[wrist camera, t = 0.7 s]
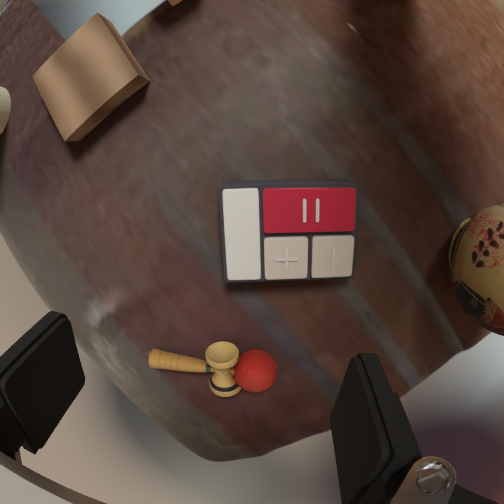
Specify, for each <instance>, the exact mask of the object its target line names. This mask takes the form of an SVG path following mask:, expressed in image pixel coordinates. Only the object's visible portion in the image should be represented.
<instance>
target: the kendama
mask: <svg viewBox="0 0 504 504" xmlns="http://www.w3.org/2000/svg"><path fill="white" fill-rule="evenodd" d="M205 356H206V361H204V360H201V359H197V358H193V357H189V356H184V355H180V354H175V353H171V352H166V351H162V350H159V349H155V348H154V349H152V350H151V352H150V355H149V365H150V367H151V368H157V369H168V370H176V371H185V372H213V373H212V374H211V375H210V377H209V385H210V388H211V390H212V392H213V393H215V394H216V395H218V396H222V397H229V396H233V395H235V394H237V393H238V392H239V391H240V390H241V389H244V390H246V391H249V392H262V391H265V390H267V389H268V388H270V387H271V386H272V385H273V384H274V382H275V380H276V378H277V373H278V369H277V366H278V365H277V364H276V361H275V359H274V358H273V356H272V355H271V354H269V353H268V352H266V351H264V350H261V349H250V350H247V351H245V352H243V353H242V354H240V355H239V350H238V348H237V347H236V346H235V345H234V344H232V343H230V342H225V341H222V342H216V343H213V344H211V345H210V346H209V347H208V348H207V350H206V352H205Z"/></svg>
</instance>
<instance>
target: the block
mask: <svg viewBox="0 0 504 504" xmlns="http://www.w3.org/2000/svg"><path fill="white" fill-rule="evenodd" d="M168 1H169V3H170V4H171V5H172V6H174V5H176V4H178V3H179V2H181V1H182V0H168Z"/></svg>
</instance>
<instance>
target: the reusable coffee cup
mask: <svg viewBox="0 0 504 504" xmlns="http://www.w3.org/2000/svg"><path fill="white" fill-rule="evenodd" d="M10 108H11V100H10V95H9V93H8V91H7V90H6V89H5V88H3V87H0V135H1V133H2V132H3V131H4V129H5V127H6V125H7V122H8V119H9V115H10Z"/></svg>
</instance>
